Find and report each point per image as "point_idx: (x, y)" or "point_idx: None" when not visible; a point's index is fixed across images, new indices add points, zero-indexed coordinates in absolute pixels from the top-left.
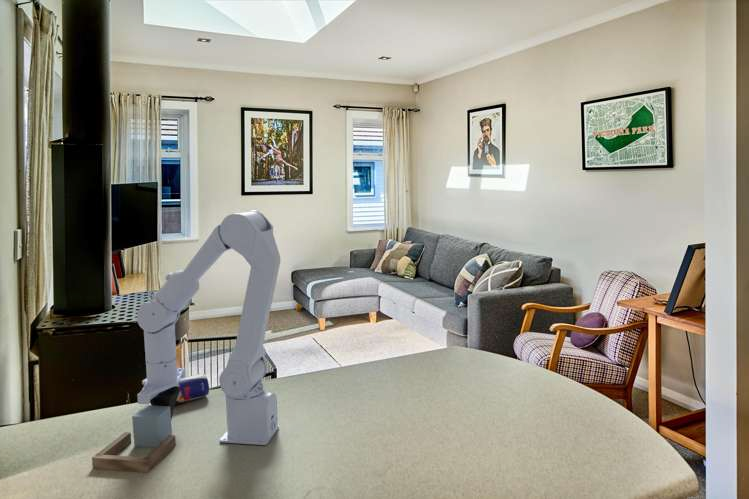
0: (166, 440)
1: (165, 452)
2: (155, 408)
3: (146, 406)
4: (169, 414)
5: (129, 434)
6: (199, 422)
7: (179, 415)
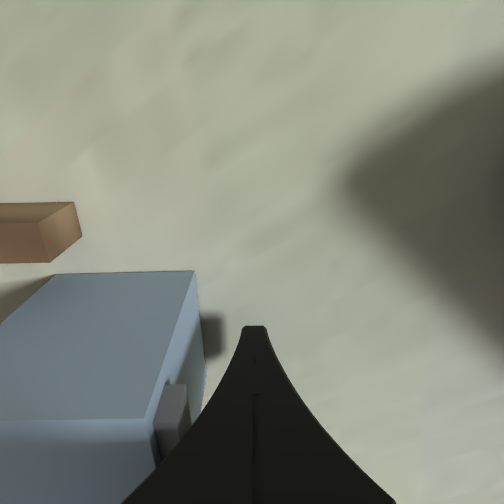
0: None
1: None
2: (108, 500)
3: (119, 430)
4: None
5: (40, 259)
6: (348, 416)
7: (434, 307)
